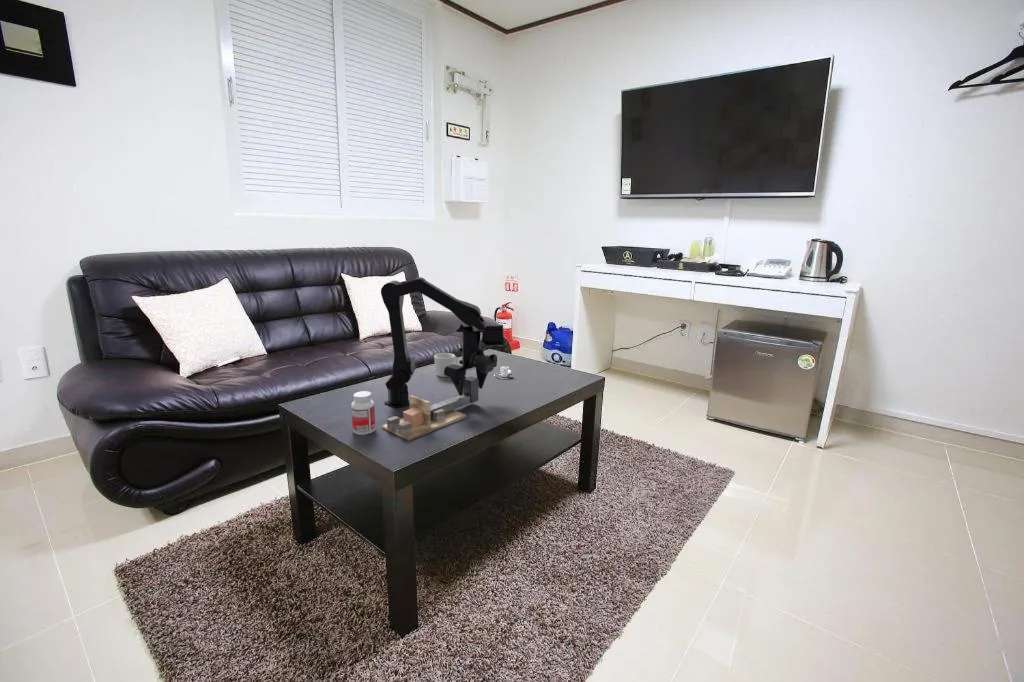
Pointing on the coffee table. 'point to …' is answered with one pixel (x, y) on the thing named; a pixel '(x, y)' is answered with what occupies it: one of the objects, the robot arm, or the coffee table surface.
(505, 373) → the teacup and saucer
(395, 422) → the rail
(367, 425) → the pill bottle
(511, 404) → the coffee table surface
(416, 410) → the block
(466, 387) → the grey metal bar
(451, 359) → the cup
